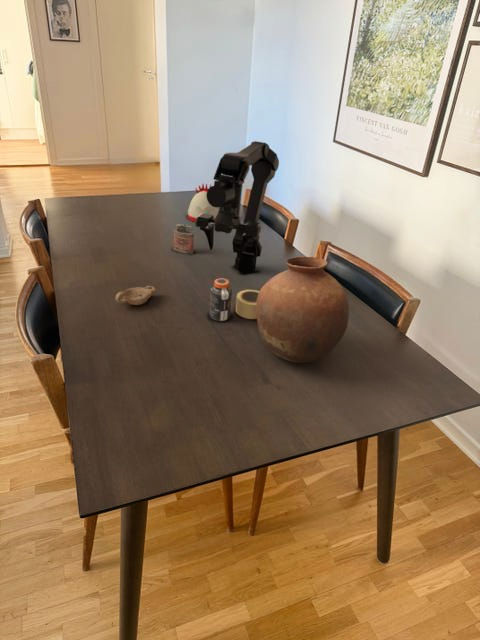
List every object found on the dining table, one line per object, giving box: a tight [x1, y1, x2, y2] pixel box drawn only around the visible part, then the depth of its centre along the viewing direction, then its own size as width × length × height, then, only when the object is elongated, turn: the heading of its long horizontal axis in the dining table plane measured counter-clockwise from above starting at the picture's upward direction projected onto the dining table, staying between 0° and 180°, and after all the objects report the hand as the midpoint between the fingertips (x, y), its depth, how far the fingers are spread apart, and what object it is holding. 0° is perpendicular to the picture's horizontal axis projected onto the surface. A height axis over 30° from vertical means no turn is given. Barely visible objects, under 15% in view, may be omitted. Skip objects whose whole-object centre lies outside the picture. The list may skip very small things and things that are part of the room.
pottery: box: [256, 256, 350, 364], centre depth 111 cm, size 23×23×25 cm
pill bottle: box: [209, 277, 233, 322], centre depth 126 cm, size 6×6×11 cm
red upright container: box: [173, 223, 195, 255], centre depth 163 cm, size 8×3×10 cm, turn 68°
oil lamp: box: [115, 285, 156, 306], centre depth 130 cm, size 13×8×5 cm, turn 135°
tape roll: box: [235, 289, 260, 320], centre depth 131 cm, size 9×9×5 cm
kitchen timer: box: [187, 183, 219, 223], centre depth 195 cm, size 14×14×15 cm
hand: (225, 252), depth 135 cm, fingers open, 9 cm apart
